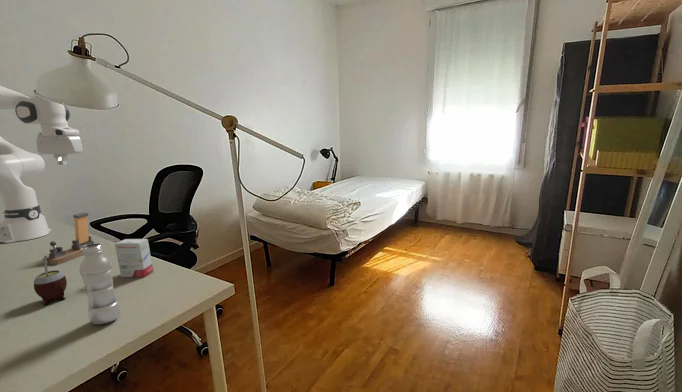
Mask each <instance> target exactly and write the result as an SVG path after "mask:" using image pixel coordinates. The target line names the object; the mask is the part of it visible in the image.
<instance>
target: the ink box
mask: <svg viewBox="0 0 682 392" xmlns="http://www.w3.org/2000/svg"><path fill="white" fill-rule="evenodd" d="M114 247H115V252H116V257H117V262H118V268H119V273H120V277H121V278H145V277H147V276H148V275H150V274H151V273H153V272H154V267H153V261H152V257H151V250H150V244H149V239H148V238H125V239H122V240H120V241H117V242H115V243H114ZM152 271H153V272H152ZM150 272H151V273H150ZM149 273H150V274H149Z"/></svg>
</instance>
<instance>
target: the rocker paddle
mask: <svg viewBox="0 0 682 392" xmlns="http://www.w3.org/2000/svg"><path fill="white" fill-rule="evenodd" d="M72 217H73V218H74V232H75V240H76V241H78V242H79V244H81V243H84V242H87V241H89V236H90V235H89V219H88V218H89V213H88V212H85V211H83V212H80V213H75V214H73V215H72Z"/></svg>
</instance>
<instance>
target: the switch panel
mask: <svg viewBox="0 0 682 392" xmlns="http://www.w3.org/2000/svg"><path fill="white" fill-rule="evenodd" d="M71 244H72V245H71V247H70V248H68V249H65V250H63V246H62V247H61V246H56V248H57V251H56V250H55V249H53V248H50V249H49V253H48V255H47V258H46V261H47V265H55V266H58V265H61V264H64V263H67V262H68V261H72V260H74V259H76V258H79V257H82V256H84V255H83V249H82V247H84V246H86V245H89V244H95V242H94V240H92V236H91V235H89V241H87V242H84V243H81V244H79V242H78V241H76V239H75V240H74V239H73V240H71ZM43 261H44V257H43V258H42V262H43Z"/></svg>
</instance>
